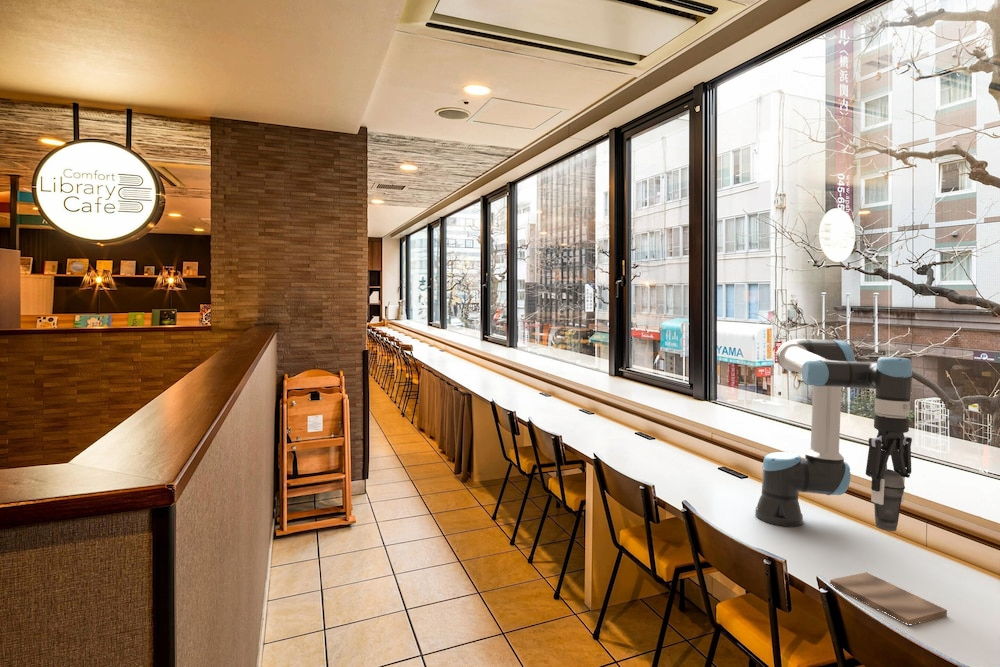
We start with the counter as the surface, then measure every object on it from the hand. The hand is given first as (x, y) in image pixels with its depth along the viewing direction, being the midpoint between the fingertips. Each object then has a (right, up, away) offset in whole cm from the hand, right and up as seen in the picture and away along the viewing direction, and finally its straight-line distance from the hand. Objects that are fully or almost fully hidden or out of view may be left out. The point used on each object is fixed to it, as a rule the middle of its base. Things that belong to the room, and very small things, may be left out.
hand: (887, 501), depth 144 cm
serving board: (-4, -24, -4) cm, 25 cm away
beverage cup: (0, -7, 0) cm, 7 cm away
